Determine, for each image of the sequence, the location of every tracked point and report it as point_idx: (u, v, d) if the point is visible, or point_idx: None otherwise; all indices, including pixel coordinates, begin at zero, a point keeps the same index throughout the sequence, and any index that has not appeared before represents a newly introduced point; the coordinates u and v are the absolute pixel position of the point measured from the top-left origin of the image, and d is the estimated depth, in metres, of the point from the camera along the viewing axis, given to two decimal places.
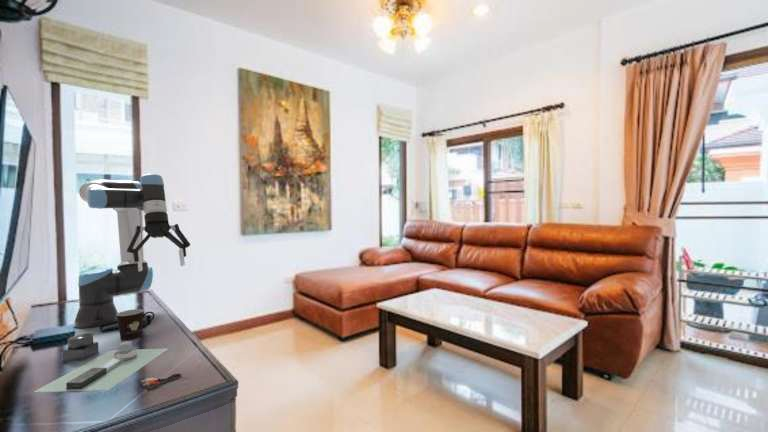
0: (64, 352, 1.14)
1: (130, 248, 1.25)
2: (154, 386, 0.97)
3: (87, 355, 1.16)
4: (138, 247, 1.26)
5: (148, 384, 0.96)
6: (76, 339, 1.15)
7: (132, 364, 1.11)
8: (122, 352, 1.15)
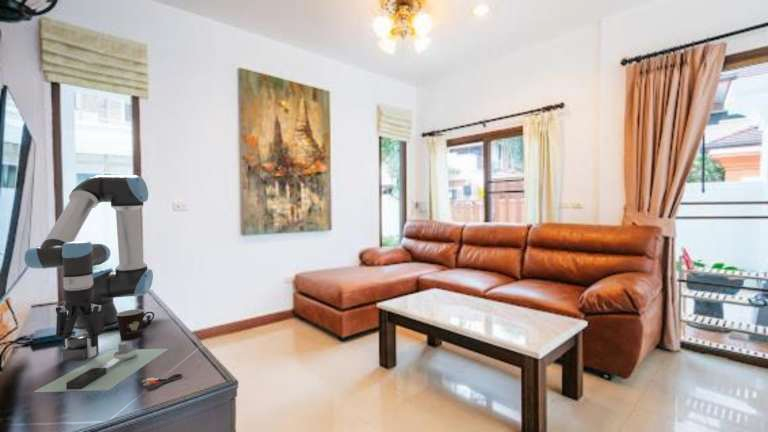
0: (64, 352, 1.14)
1: (57, 334, 1.16)
2: (155, 386, 0.97)
3: (87, 355, 1.16)
4: (64, 333, 1.16)
5: (149, 384, 0.96)
6: (76, 339, 1.15)
7: (132, 364, 1.11)
8: (122, 352, 1.15)
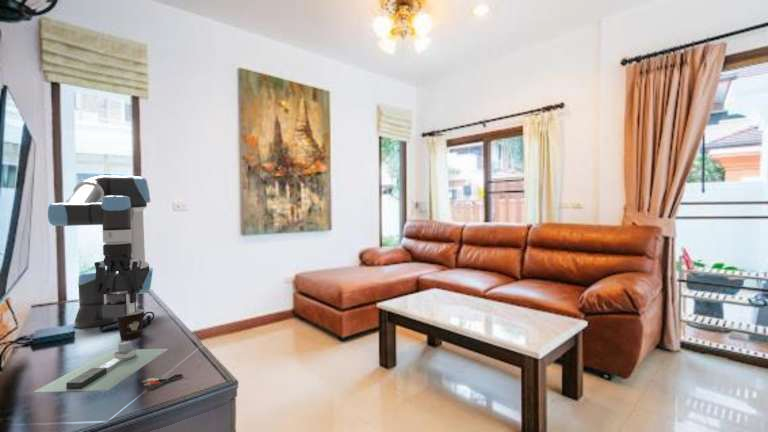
0: (103, 307, 1.12)
1: (96, 289, 1.14)
2: (155, 386, 0.96)
3: (126, 311, 1.14)
4: (103, 288, 1.14)
5: (149, 384, 0.96)
6: (115, 294, 1.13)
7: (132, 364, 1.11)
8: (122, 352, 1.15)
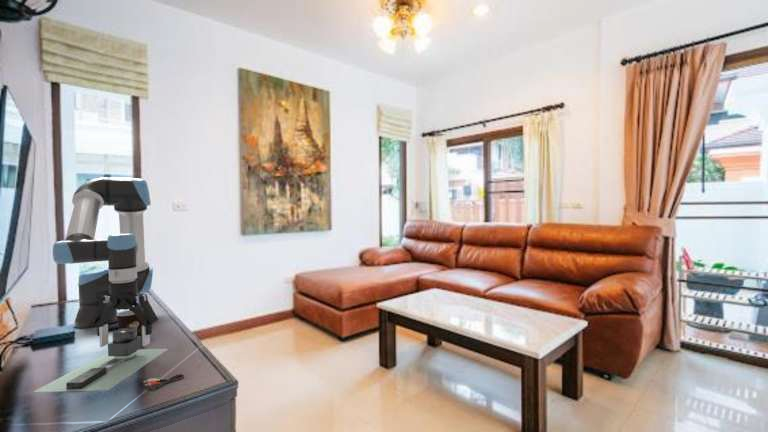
0: (109, 346, 1.13)
1: (92, 322, 1.14)
2: (156, 387, 0.96)
3: (132, 349, 1.15)
4: (100, 321, 1.14)
5: (150, 385, 0.96)
6: (121, 333, 1.14)
7: (132, 364, 1.11)
8: None
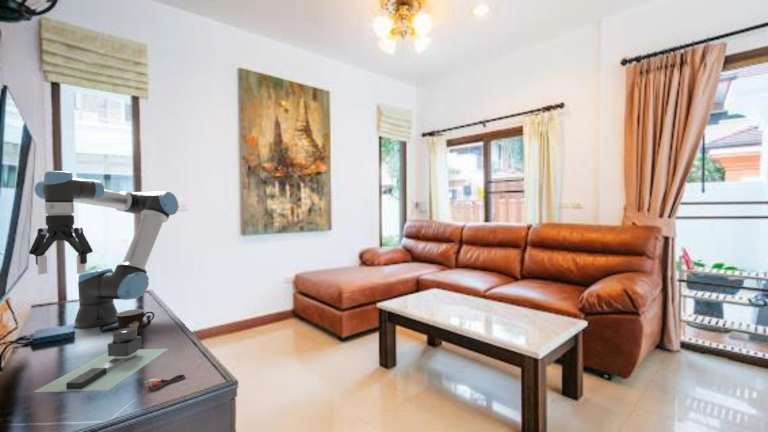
0: (109, 346, 1.13)
1: (31, 252, 1.25)
2: (157, 387, 0.96)
3: (132, 349, 1.15)
4: (38, 251, 1.25)
5: (151, 385, 0.96)
6: (121, 333, 1.14)
7: (132, 364, 1.11)
8: None
